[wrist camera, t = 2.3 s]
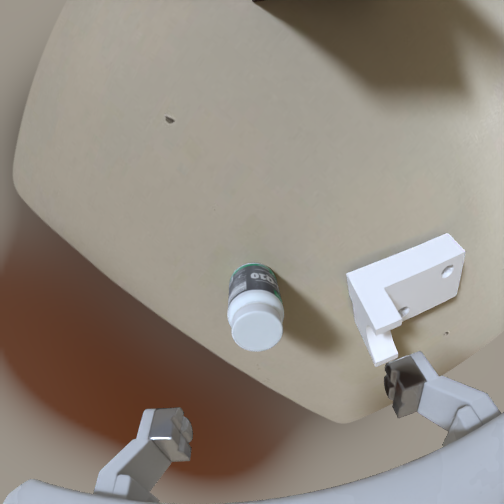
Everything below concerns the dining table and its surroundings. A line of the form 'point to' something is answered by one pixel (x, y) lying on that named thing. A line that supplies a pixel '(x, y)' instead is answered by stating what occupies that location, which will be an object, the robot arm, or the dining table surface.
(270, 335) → the pill bottle
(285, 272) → the dining table surface
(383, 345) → the bracket
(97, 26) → the dining table surface
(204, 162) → the dining table surface
